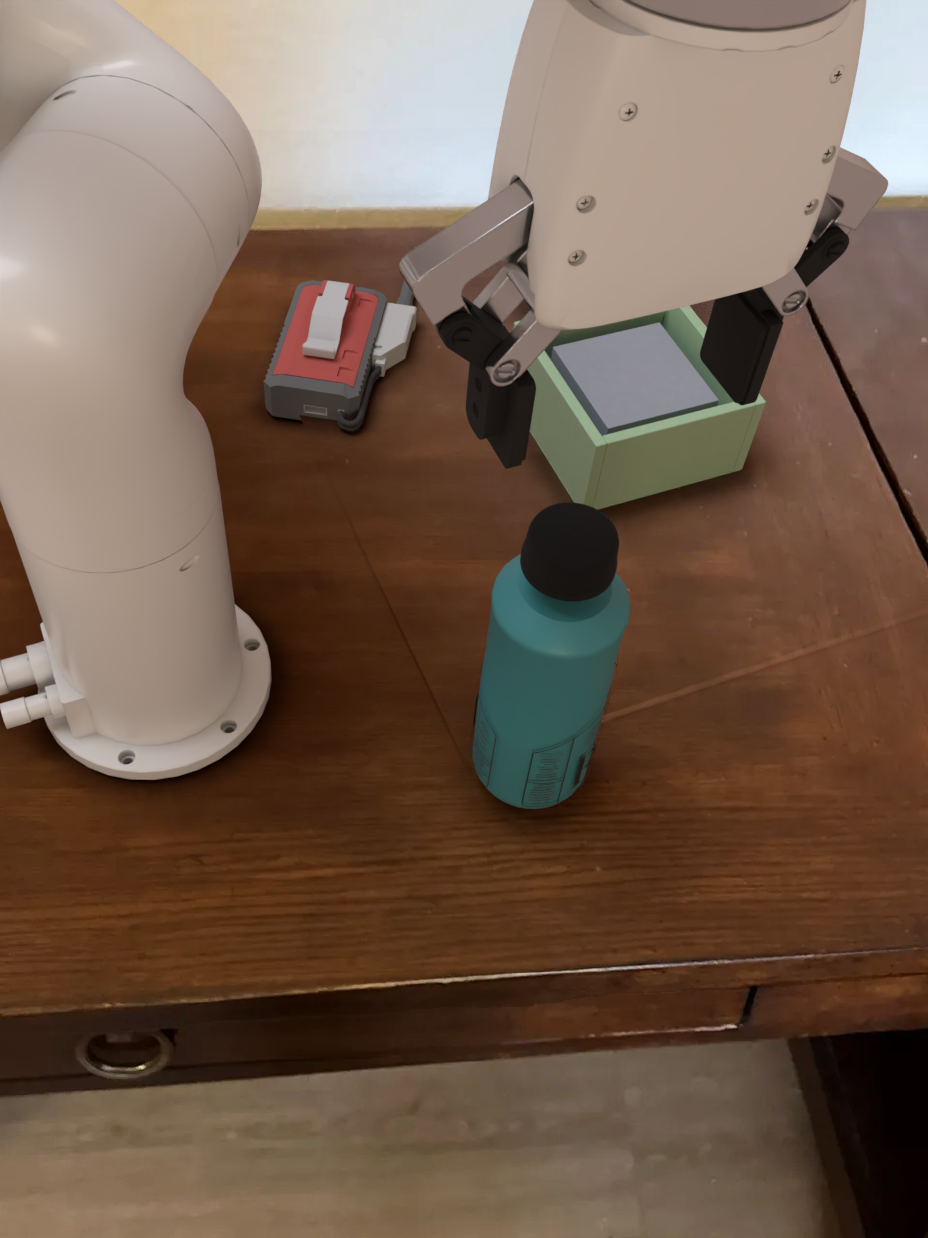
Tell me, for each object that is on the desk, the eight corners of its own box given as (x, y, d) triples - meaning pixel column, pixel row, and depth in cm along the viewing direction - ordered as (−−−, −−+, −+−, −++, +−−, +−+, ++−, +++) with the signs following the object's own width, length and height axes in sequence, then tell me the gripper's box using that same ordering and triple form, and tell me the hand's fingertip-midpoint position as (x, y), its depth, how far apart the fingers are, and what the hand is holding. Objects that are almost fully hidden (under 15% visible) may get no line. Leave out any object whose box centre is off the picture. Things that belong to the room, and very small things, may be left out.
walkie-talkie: (386, 448, 80) (432, 265, 92) (388, 398, 77) (435, 214, 89) (256, 429, 81) (319, 248, 93) (251, 378, 77) (317, 197, 89)
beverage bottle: (576, 838, 64) (647, 608, 48) (453, 812, 64) (484, 575, 49) (592, 736, 68) (664, 491, 52) (476, 711, 68) (512, 462, 52)
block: (595, 484, 79) (608, 428, 75) (543, 403, 83) (552, 346, 79) (701, 455, 81) (719, 400, 77) (645, 378, 85) (659, 321, 81)
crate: (579, 522, 78) (596, 446, 72) (503, 399, 84) (513, 321, 79) (739, 477, 81) (766, 401, 76) (654, 363, 88) (674, 285, 82)
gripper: (907, -165, 36) (758, 301, 50) (362, -102, 31) (361, 397, 45) (1075, -50, 32) (862, 423, 46) (480, 43, 27) (440, 542, 41)
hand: (615, 409), depth 45 cm, fingers open, 9 cm apart
